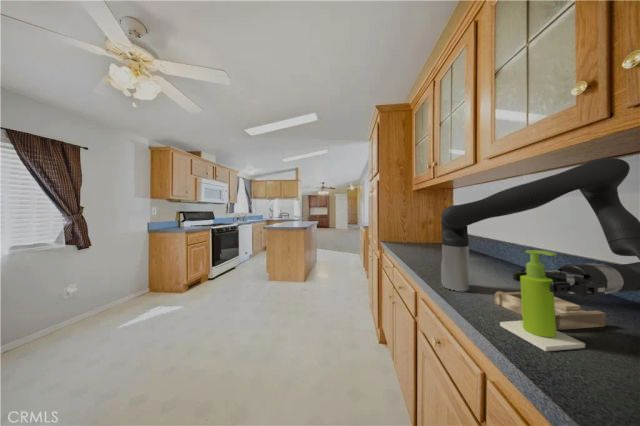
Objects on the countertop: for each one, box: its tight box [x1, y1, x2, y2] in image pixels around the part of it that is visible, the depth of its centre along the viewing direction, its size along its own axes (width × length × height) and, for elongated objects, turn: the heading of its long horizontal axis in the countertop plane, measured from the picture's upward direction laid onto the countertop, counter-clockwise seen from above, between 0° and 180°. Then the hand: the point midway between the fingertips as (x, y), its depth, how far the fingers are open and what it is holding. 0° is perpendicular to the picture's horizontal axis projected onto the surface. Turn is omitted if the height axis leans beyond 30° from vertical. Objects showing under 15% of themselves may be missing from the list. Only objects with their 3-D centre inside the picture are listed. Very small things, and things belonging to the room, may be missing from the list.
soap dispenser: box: [519, 249, 558, 337], centre depth 55 cm, size 6×7×20 cm
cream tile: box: [499, 320, 586, 352], centre depth 55 cm, size 11×10×1 cm
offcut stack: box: [554, 296, 585, 313], centre depth 67 cm, size 11×5×4 cm, turn 6°
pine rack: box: [494, 290, 606, 331], centre depth 66 cm, size 17×16×4 cm
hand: (531, 281), depth 54 cm, fingers open, 8 cm apart
